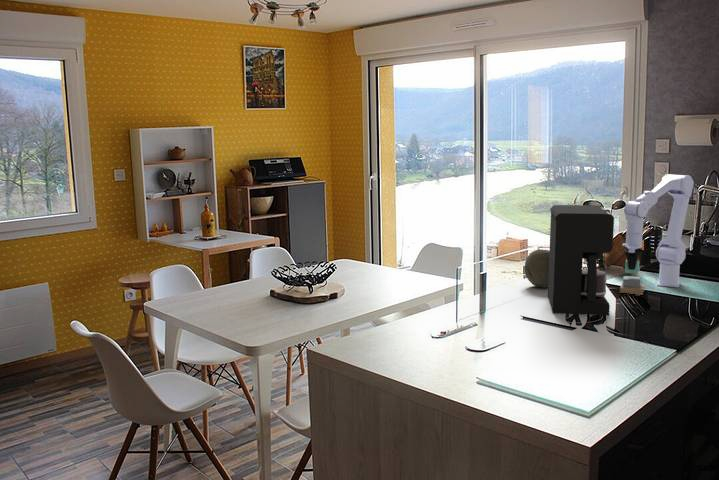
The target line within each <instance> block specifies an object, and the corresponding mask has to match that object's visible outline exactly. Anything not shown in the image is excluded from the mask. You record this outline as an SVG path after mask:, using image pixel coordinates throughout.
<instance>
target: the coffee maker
mask: <svg viewBox="0 0 719 480" xmlns="http://www.w3.org/2000/svg"><path fill="white" fill-rule="evenodd" d="M549 209H550V224H549V225H550V227H549V229H550V231H549V250H550V252H549V279H548V287H547V298H548V302H549V304H550V310H551V312H552V314H564V315H566V314H567V315H582V314H590V315H589V316H605V315H609V316H610V308H611V307H610V306H611V305H610V304H609V301H608V300H607V299H606V297H605V296H606V294H607V289H606V287H607V273H606V271H602V270H599V269H598V265H597V264H598V262H597V260H600V259H604V258H603V254H609V253H611V252H612V250H614V249H613V246H614V229H615V217H614V215H613V214H611V212H610V210H609V209H606V208H604V205H595V204H594V205H589V204H586V205H582V204H580V205H578V204H576V205H575V204H570V205H569V204H554V205H552V206H551V207H550V208H549ZM584 259H585V260H587V268H583V260H584ZM605 264H606V263H604V265H605Z"/></svg>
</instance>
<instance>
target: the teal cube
mask: <svg viewBox="0 0 719 480" xmlns="http://www.w3.org/2000/svg"><path fill="white" fill-rule="evenodd" d="M624 263H625V264H624V265H625V266H624V273H625V274H636V275H637V274H639V271H640V259H638V260H637V263H636V267H635V270H630V269H629V268H628V262H627V259H626V260H625V262H624Z"/></svg>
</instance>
